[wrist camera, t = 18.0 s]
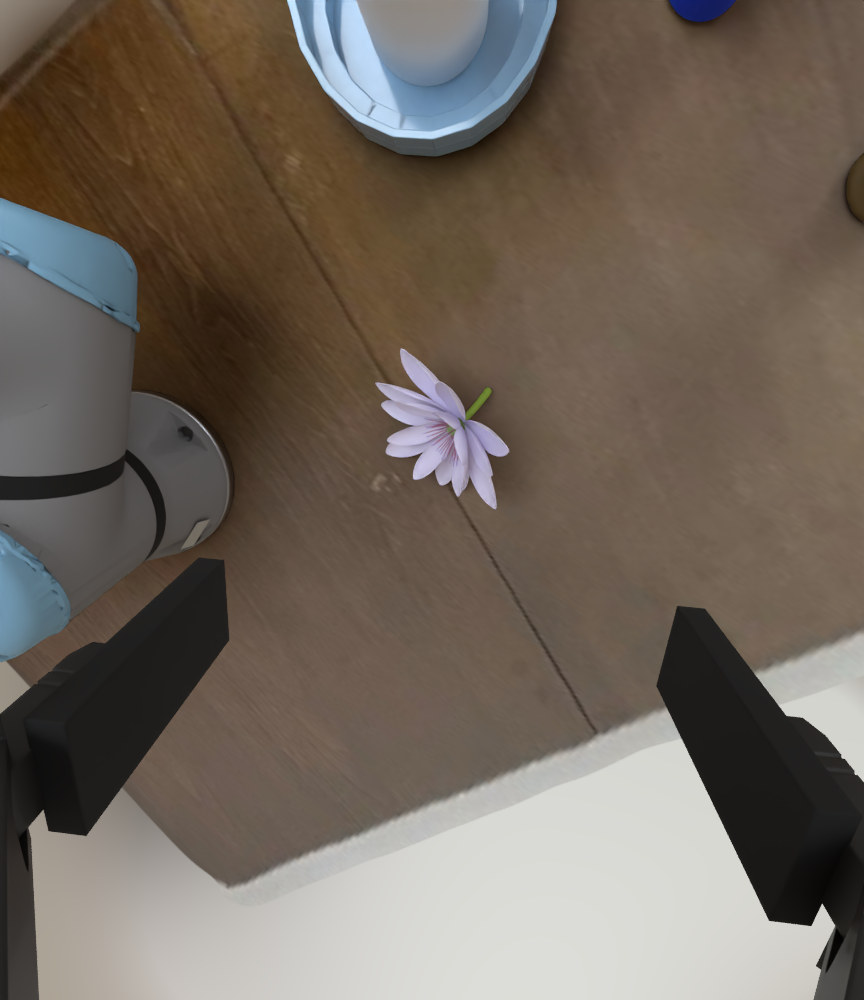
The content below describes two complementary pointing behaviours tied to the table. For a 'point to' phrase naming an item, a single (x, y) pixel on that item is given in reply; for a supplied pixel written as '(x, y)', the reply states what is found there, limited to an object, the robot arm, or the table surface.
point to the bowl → (423, 109)
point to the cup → (425, 36)
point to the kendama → (856, 188)
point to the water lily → (442, 432)
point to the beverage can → (701, 8)
